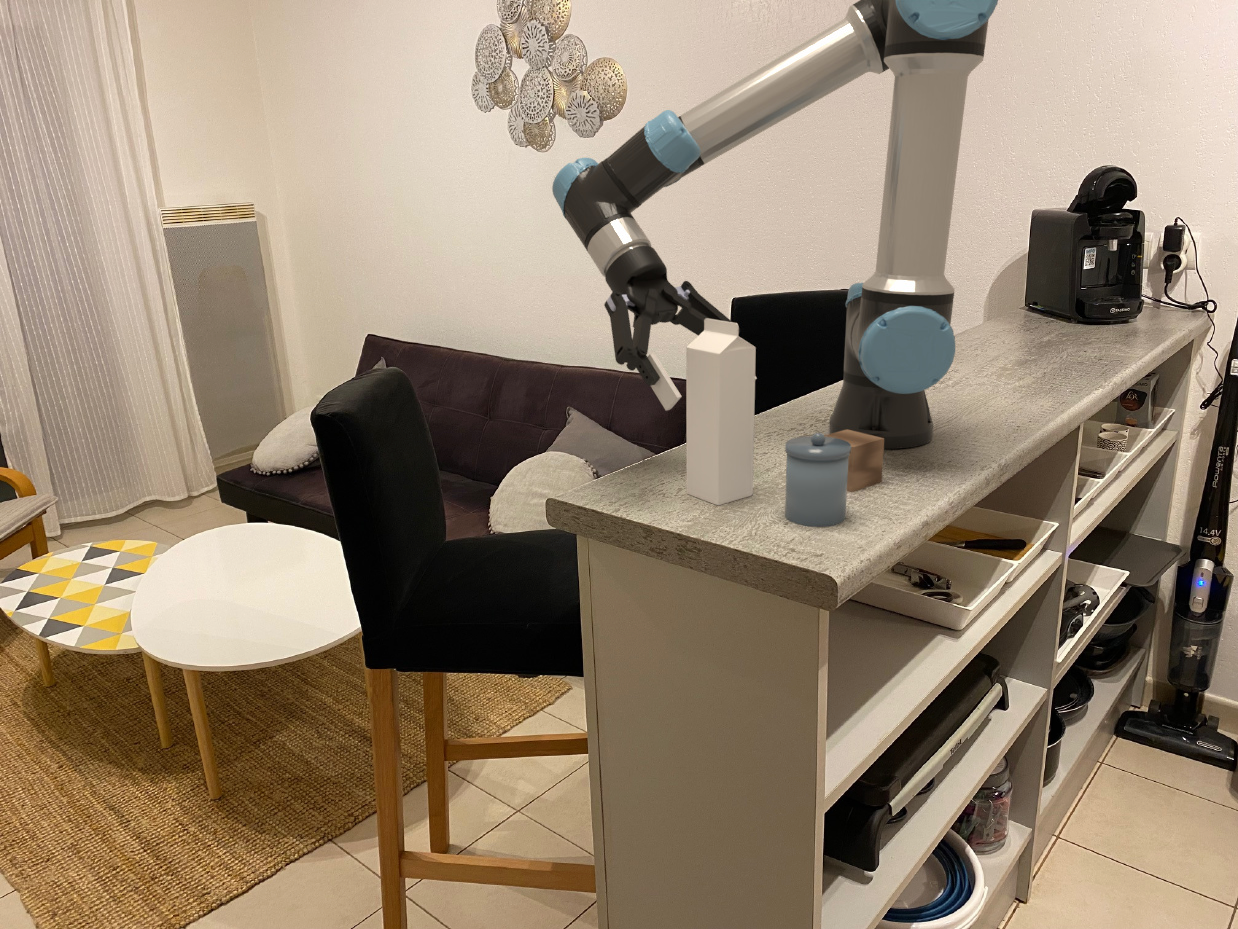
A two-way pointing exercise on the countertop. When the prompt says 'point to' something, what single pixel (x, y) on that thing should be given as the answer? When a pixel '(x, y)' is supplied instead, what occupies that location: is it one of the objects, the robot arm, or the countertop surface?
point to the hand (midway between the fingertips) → (713, 394)
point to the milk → (720, 414)
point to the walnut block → (862, 459)
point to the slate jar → (816, 480)
